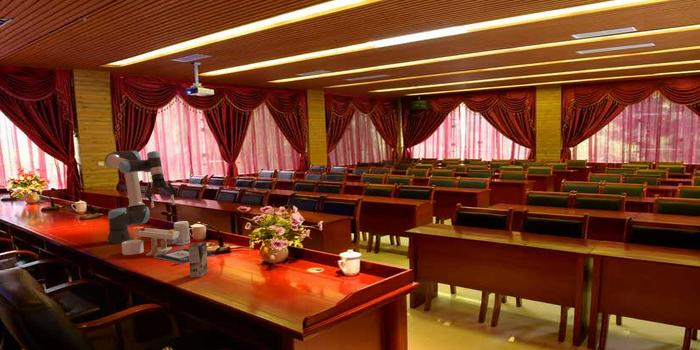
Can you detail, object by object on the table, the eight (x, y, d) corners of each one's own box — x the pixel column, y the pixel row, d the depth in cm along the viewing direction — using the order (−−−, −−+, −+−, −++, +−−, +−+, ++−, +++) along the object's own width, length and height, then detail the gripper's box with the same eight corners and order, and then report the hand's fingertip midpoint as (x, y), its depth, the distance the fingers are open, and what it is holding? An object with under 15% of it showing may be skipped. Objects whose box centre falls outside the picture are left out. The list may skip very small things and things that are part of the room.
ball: (169, 234, 293) (170, 228, 293) (175, 235, 293) (176, 229, 293) (166, 235, 289) (167, 229, 289) (172, 237, 289) (173, 230, 289)
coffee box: (202, 277, 234) (200, 246, 233) (189, 277, 234) (187, 246, 233) (208, 271, 243) (206, 241, 242) (196, 272, 244) (194, 242, 242)
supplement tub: (187, 241, 321) (185, 220, 319) (192, 243, 313) (190, 222, 312) (173, 243, 314) (171, 222, 313) (177, 246, 307) (176, 224, 306)
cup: (128, 250, 298) (128, 239, 298) (146, 250, 298) (145, 239, 298) (119, 255, 287) (118, 244, 287) (137, 254, 287) (136, 243, 286)
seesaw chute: (183, 238, 304) (184, 228, 304) (171, 244, 286) (172, 234, 285) (149, 234, 305) (150, 224, 304) (136, 240, 286) (136, 230, 286)
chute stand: (172, 248, 300) (171, 232, 300) (160, 255, 283) (159, 238, 283) (158, 248, 301) (157, 232, 300) (146, 255, 284) (145, 238, 283)
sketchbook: (183, 265, 261) (183, 261, 261) (153, 258, 278) (152, 255, 278) (214, 256, 279) (214, 252, 279) (183, 250, 296) (183, 247, 296)
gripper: (139, 174, 291) (145, 207, 288) (178, 171, 309) (184, 202, 305) (135, 177, 297) (141, 209, 293) (173, 174, 314) (180, 204, 311)
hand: (163, 206), depth 299 cm, fingers open, 13 cm apart
